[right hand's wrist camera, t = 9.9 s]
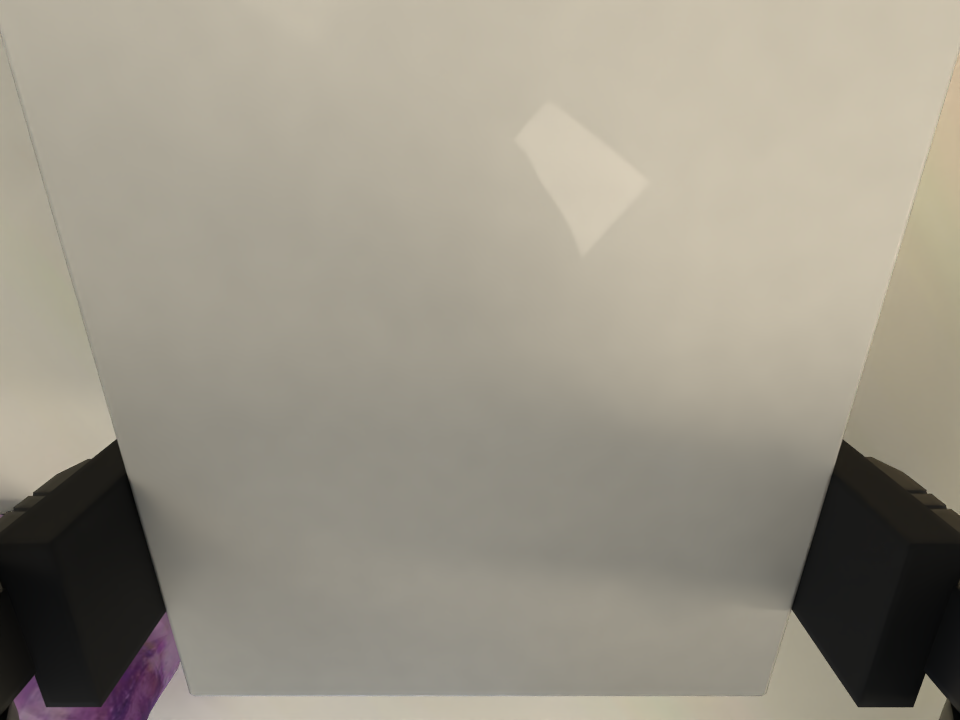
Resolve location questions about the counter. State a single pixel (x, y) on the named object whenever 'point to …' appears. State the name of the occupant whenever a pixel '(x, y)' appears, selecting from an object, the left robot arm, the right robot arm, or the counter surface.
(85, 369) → the counter surface
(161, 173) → the cabinet
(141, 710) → the figurine
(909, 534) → the right robot arm
